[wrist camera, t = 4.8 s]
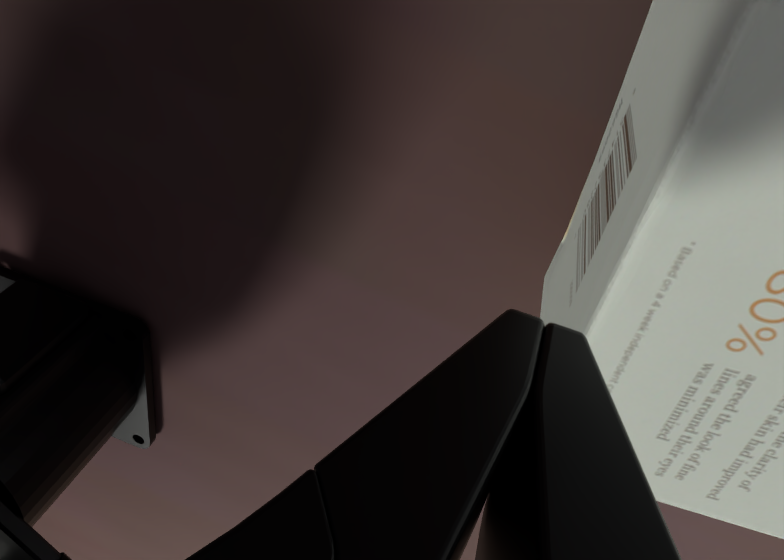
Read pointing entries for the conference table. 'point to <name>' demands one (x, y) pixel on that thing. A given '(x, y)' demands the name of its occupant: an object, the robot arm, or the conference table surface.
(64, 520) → the conference table surface
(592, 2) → the conference table surface
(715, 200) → the small box
